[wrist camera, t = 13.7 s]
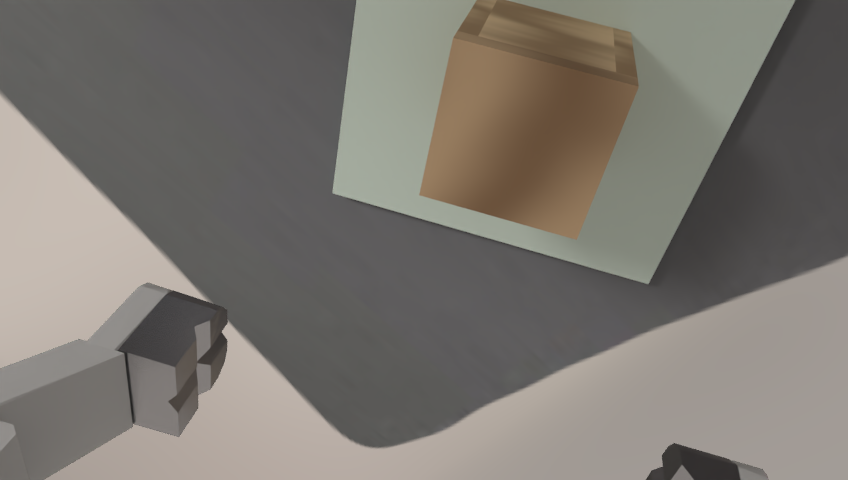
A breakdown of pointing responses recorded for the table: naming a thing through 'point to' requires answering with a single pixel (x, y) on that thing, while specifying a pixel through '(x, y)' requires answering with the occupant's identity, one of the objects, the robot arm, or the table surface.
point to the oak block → (529, 115)
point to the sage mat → (636, 145)
